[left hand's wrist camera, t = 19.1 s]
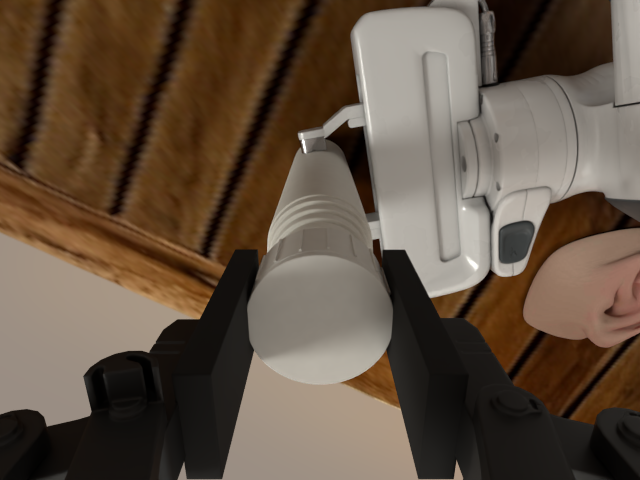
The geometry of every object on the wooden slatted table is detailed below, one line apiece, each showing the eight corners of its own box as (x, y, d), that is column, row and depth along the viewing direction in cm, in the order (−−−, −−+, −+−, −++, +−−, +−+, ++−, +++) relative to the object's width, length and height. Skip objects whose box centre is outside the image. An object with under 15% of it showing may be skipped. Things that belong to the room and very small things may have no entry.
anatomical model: (538, 366, 39) (553, 250, 35) (519, 341, 42) (530, 234, 38) (685, 357, 38) (717, 239, 34) (653, 333, 42) (678, 224, 38)
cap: (246, 329, 15) (233, 373, 13) (266, 213, 14) (255, 239, 11) (366, 351, 15) (374, 396, 13) (398, 239, 14) (414, 269, 12)
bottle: (346, 137, 36) (397, 242, 12) (346, 190, 37) (393, 374, 14) (292, 139, 36) (237, 246, 12) (295, 192, 37) (251, 378, 14)
